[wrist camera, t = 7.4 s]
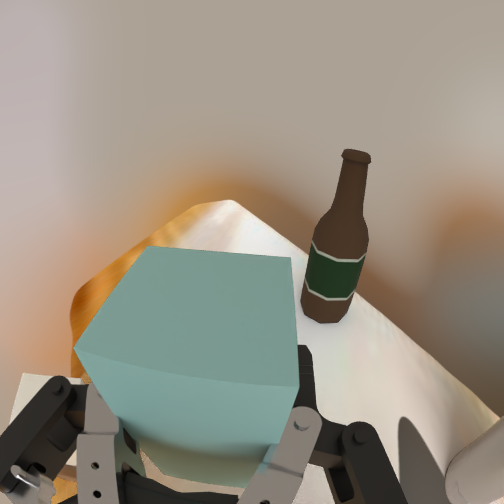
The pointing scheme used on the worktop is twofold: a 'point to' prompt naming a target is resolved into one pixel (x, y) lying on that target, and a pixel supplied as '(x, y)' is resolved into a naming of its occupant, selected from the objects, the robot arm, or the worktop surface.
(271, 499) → the robot arm
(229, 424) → the teal block
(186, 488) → the worktop surface
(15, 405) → the cream block
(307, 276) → the beer bottle
